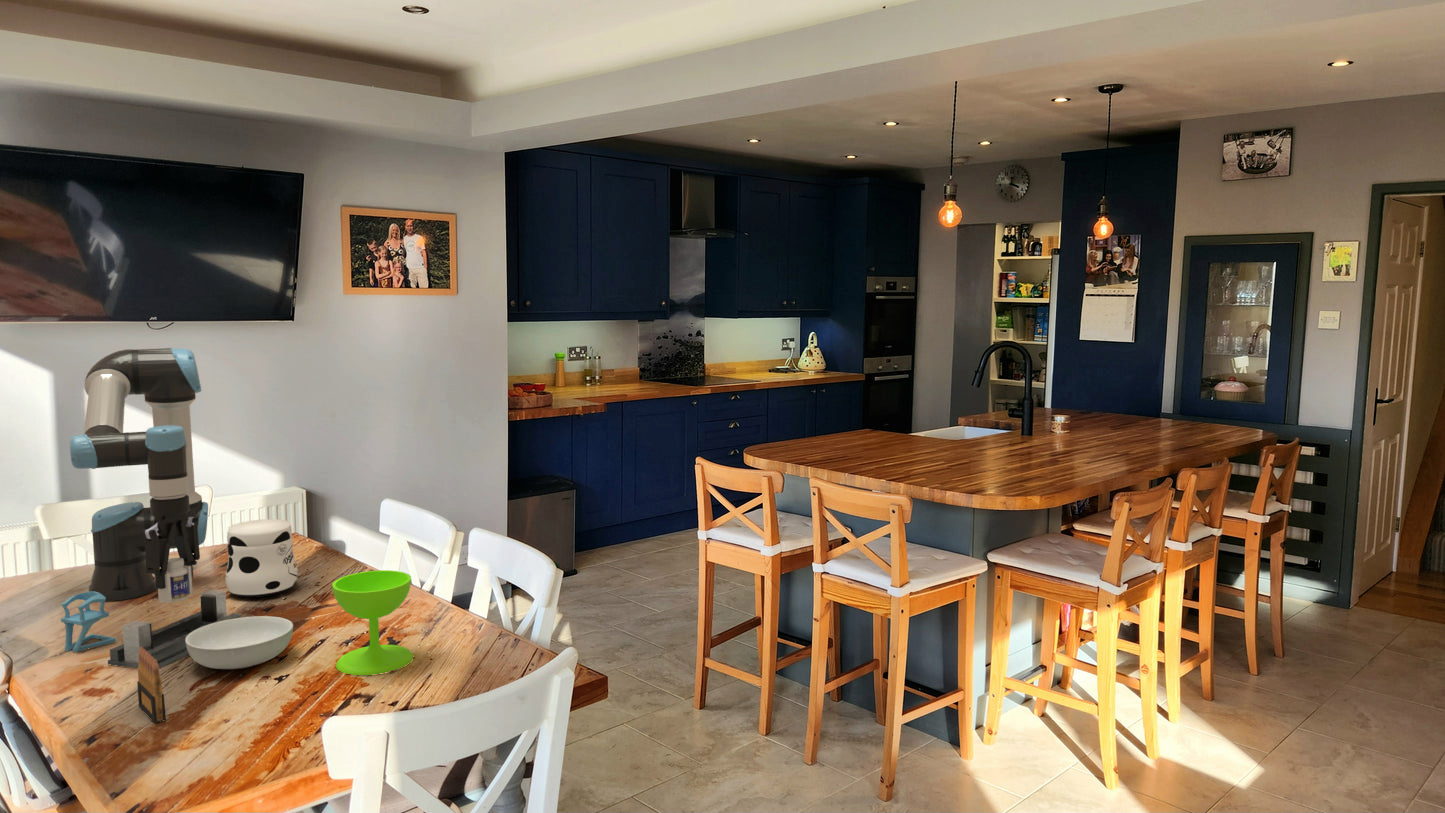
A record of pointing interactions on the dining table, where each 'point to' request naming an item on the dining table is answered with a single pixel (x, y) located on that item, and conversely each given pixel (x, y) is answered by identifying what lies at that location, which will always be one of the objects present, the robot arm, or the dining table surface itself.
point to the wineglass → (373, 618)
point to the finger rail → (168, 633)
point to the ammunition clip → (150, 687)
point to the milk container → (260, 558)
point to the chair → (85, 621)
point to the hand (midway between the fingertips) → (175, 597)
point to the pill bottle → (178, 579)
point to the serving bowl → (239, 641)
